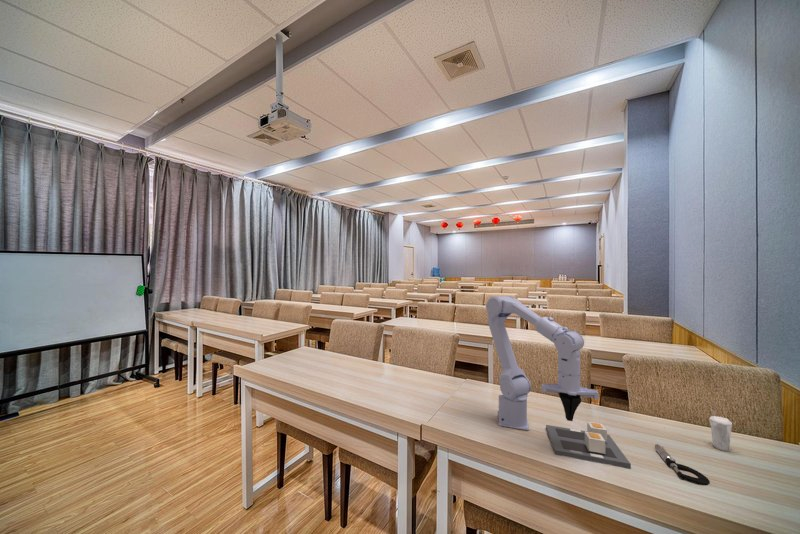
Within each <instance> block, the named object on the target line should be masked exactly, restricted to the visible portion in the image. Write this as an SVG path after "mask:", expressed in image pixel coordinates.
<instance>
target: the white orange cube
mask: <svg viewBox="0 0 800 534" xmlns="http://www.w3.org/2000/svg"><path fill="white" fill-rule="evenodd" d="M584 431H585V445H586V447H587V449H588V450H589V451H591V452H597V453H602V454H606V452H605V440H604V438H603V437H602V436H601V434H598V433H592V432H586V431H587V430H584Z"/></svg>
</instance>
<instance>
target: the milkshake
mask: <svg viewBox="0 0 800 534" xmlns="http://www.w3.org/2000/svg"><path fill="white" fill-rule="evenodd" d="M711 412H712V415H711V416H710V417H709V424H710V431H711V440H712V446H713V447H714V448H715V449H717V450H720V451H723V452H729V451H730V448H731V447H730V445H731V435H732V429H733V428H732V427H733V423H732V421H730V419H728V418H726V417H722V416H716V412H715V410H714V409H711Z"/></svg>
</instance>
